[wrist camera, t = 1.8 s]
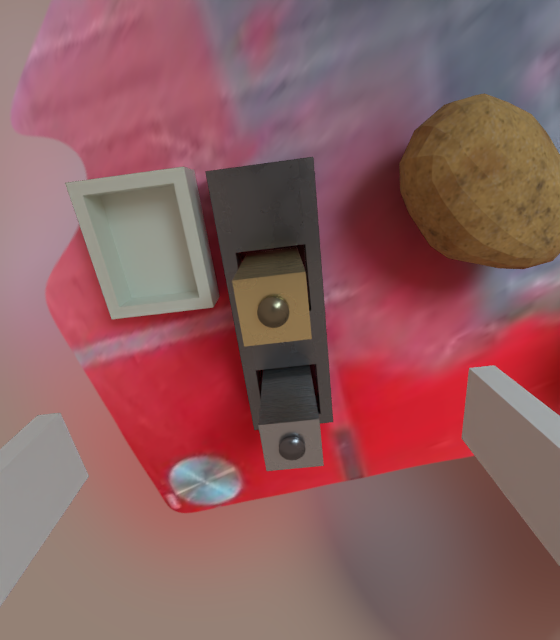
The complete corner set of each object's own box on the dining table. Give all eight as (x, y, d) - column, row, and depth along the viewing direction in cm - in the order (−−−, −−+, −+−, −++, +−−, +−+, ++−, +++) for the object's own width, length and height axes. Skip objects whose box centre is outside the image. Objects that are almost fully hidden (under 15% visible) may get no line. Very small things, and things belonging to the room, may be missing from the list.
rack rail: (213, 173, 26) (205, 171, 23) (309, 160, 26) (313, 156, 23) (256, 411, 35) (254, 430, 32) (328, 403, 35) (333, 422, 32)
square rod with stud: (264, 359, 33) (258, 429, 23) (307, 354, 32) (319, 422, 23) (269, 396, 34) (266, 475, 25) (311, 391, 34) (324, 469, 24)
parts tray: (88, 184, 26) (65, 182, 24) (194, 169, 26) (183, 166, 23) (127, 307, 30) (111, 319, 28) (219, 296, 30) (213, 307, 27)
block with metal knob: (247, 252, 29) (231, 282, 19) (296, 246, 28) (306, 273, 19) (254, 300, 30) (243, 349, 21) (301, 294, 30) (312, 341, 20)
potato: (466, 286, 30) (528, 316, 22) (354, 191, 27) (382, 189, 19) (554, 197, 27) (658, 197, 20) (439, 78, 24) (512, 26, 16)
